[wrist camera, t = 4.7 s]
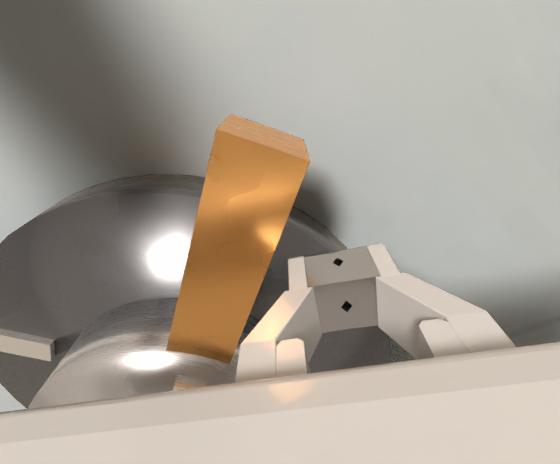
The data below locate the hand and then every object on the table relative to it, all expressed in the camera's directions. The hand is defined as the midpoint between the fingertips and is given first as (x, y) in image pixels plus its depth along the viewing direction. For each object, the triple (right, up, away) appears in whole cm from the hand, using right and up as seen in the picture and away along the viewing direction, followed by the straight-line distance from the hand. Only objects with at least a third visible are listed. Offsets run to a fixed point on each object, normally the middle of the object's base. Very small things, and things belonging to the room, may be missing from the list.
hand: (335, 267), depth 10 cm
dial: (-5, -3, +3) cm, 7 cm away
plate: (-6, -5, +7) cm, 11 cm away
